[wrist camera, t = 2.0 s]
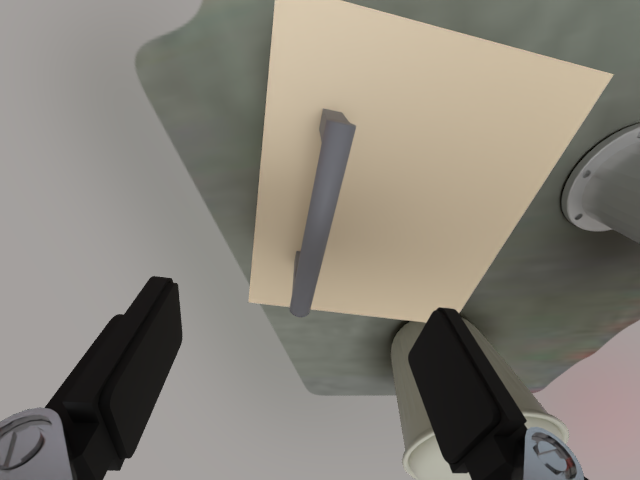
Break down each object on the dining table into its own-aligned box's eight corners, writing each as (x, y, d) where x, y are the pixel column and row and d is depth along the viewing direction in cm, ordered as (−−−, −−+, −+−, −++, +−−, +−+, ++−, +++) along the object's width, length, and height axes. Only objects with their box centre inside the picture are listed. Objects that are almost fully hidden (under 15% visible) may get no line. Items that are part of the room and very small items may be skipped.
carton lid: (601, 74, 17) (740, 77, 12) (447, 319, 28) (481, 379, 23) (277, -14, 14) (259, -63, 9) (250, 296, 26) (234, 358, 20)
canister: (352, 329, 44) (384, 510, 26) (462, 275, 39) (595, 453, 21) (404, 380, 52) (455, 545, 34) (500, 341, 47) (619, 511, 29)
